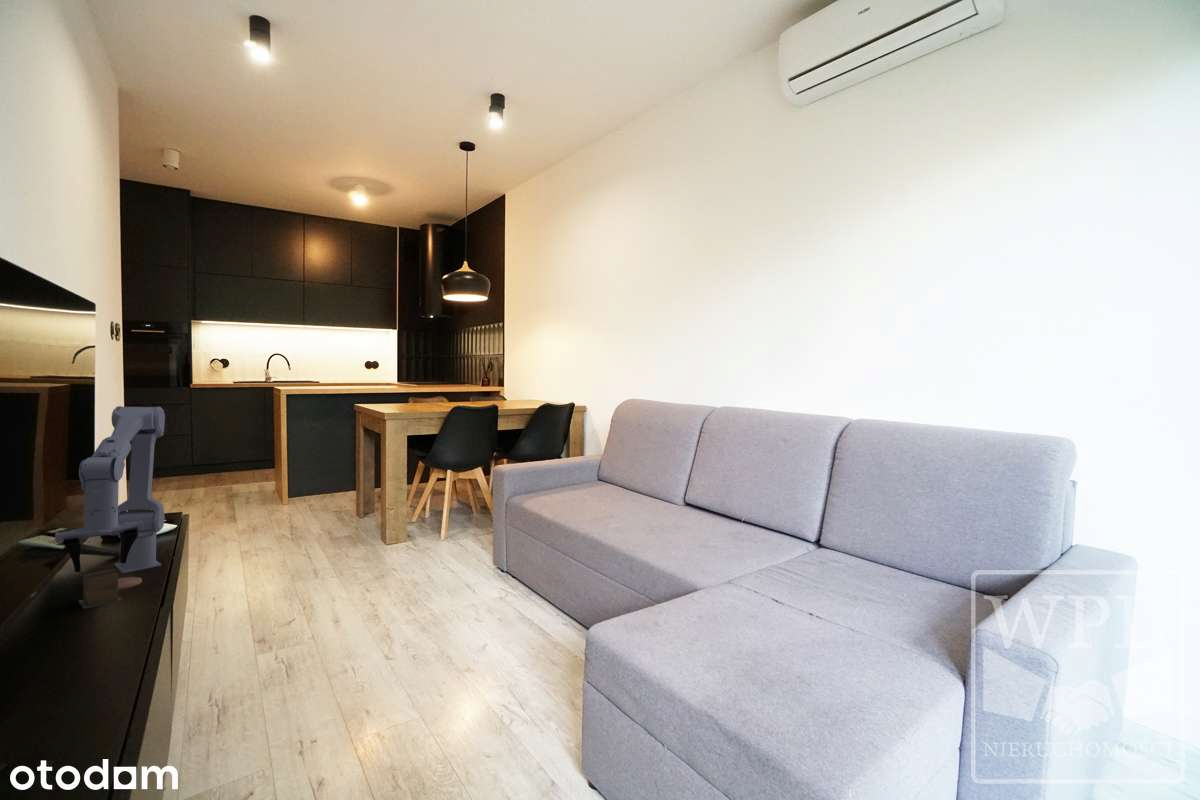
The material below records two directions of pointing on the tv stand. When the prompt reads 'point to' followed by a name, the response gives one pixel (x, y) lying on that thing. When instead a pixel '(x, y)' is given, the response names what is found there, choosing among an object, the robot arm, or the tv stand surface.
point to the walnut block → (100, 587)
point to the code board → (97, 604)
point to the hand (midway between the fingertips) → (100, 566)
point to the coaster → (128, 582)
